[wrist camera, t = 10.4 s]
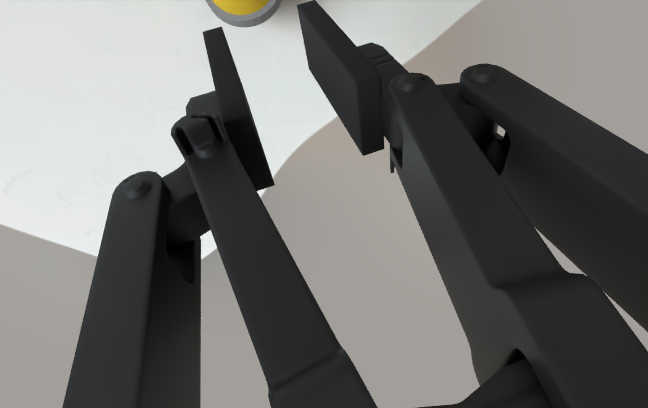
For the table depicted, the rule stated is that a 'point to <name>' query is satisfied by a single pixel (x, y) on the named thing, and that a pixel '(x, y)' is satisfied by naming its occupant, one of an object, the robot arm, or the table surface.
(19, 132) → the table surface
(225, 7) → the drill bit
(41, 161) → the table surface
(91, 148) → the table surface
